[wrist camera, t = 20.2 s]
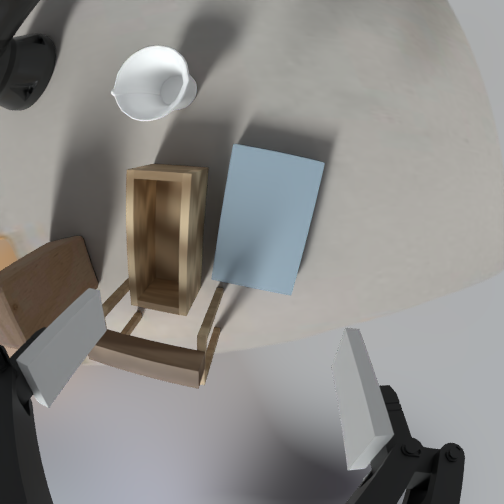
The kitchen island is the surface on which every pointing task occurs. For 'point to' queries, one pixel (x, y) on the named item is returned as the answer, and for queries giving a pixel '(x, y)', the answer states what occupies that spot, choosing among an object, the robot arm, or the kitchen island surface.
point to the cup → (154, 83)
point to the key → (150, 358)
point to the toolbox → (166, 246)
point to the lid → (265, 218)
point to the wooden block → (42, 288)
